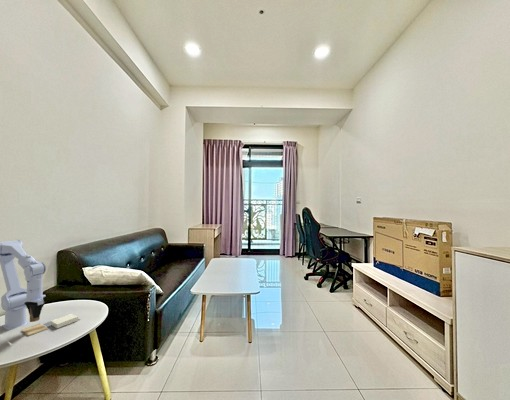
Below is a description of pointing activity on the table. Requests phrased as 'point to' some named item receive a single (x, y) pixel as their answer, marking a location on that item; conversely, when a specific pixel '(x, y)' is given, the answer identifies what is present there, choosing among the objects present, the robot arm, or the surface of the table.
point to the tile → (64, 320)
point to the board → (34, 329)
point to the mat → (53, 326)
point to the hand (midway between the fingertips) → (34, 316)
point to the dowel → (32, 317)
